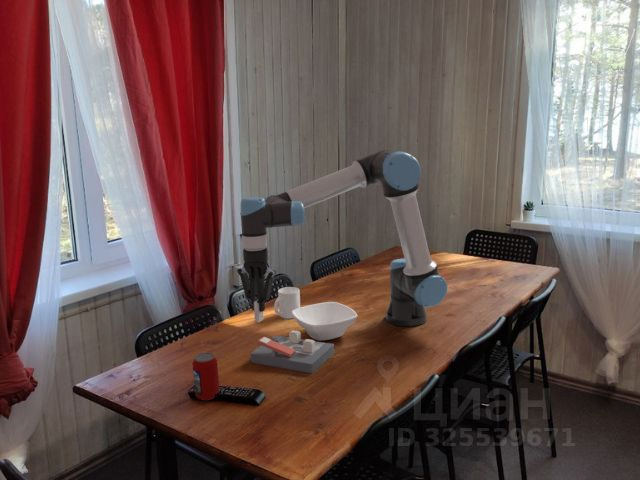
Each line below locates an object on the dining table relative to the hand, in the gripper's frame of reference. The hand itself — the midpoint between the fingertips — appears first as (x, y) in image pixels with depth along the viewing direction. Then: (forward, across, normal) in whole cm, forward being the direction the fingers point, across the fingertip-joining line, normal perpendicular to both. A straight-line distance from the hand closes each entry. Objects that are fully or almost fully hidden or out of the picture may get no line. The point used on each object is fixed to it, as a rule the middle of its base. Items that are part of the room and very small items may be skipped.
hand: (259, 320), depth 179 cm
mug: (+13, +11, -37) cm, 41 cm away
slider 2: (+10, -15, -5) cm, 19 cm away
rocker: (+8, -6, 0) cm, 10 cm away
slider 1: (+10, -7, -10) cm, 16 cm away
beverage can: (+14, +2, +26) cm, 29 cm away
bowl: (+13, -11, -25) cm, 31 cm away
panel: (+13, -9, -5) cm, 17 cm away
